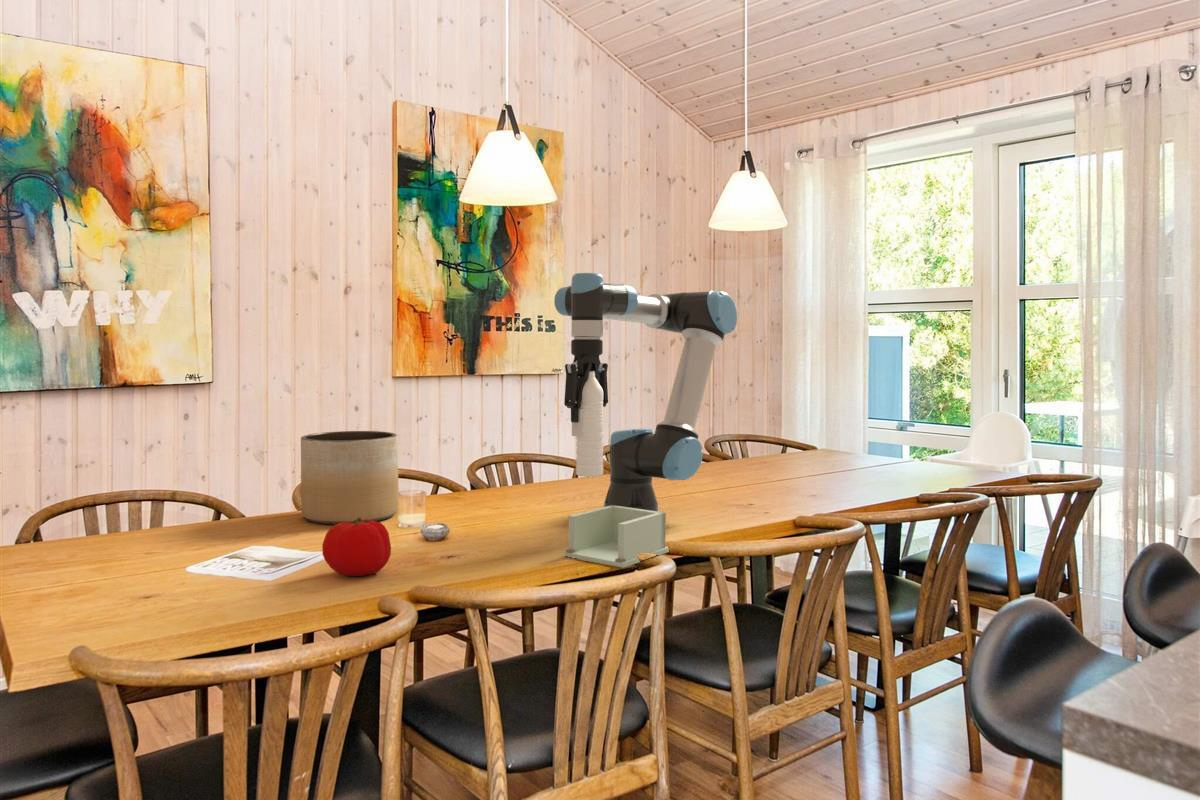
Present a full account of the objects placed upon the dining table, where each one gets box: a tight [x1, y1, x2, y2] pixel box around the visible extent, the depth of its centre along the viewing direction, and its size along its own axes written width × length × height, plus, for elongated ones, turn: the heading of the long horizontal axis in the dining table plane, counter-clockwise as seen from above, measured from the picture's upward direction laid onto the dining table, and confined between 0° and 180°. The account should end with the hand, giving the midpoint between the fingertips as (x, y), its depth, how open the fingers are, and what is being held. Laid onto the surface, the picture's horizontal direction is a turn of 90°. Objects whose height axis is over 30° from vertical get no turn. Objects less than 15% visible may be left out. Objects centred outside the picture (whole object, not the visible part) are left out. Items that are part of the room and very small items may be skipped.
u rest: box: [563, 505, 669, 569], centre depth 196 cm, size 18×16×9 cm
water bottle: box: [575, 371, 604, 478], centre depth 211 cm, size 9×6×25 cm
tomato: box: [321, 518, 392, 577], centre depth 178 cm, size 12×13×12 cm
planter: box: [300, 430, 400, 525], centre depth 237 cm, size 25×25×22 cm
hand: (586, 434), depth 210 cm, fingers closed on water bottle, 6 cm apart
